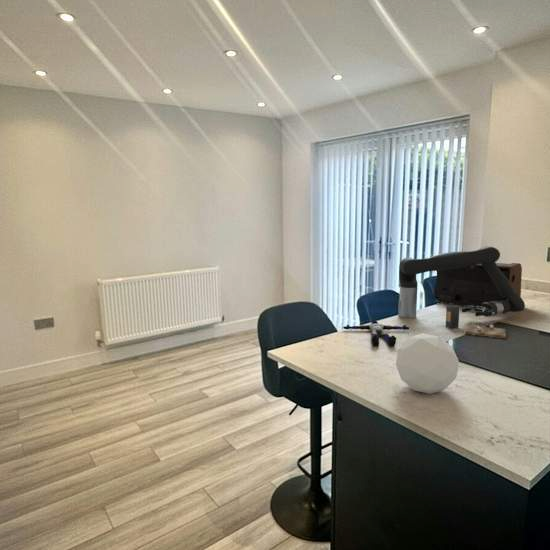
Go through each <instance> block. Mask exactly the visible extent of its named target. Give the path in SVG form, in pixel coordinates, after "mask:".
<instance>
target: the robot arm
mask: <svg viewBox="0 0 550 550" xmlns="http://www.w3.org/2000/svg"><path fill="white" fill-rule="evenodd" d="M500 257H501V252H500V250H499V249H497V248H496V247H493V246H482V247H480V248H479V249H476V250H469V251H466V250H465V251H464V250H462V251H461V250H460V251H450V252H444V253H439V254H436V255H433V256H431V257H427V258H412V257H404V258H403V259H401V261H400V262H399V269H398V270H399V271H398V272H399V273H398V278H399V280H398V281H399V299H398V313H397V314H398V315H397V317H399V318H404V319H414V318H415V319H416V318H417V304H418V303H417V301H418V280H417V275H419V274H423V273H427V272H437V271H439V270H448V269H455V268H460V267H465V266H469V265H474V264H482V266H483V267H484V268H485V270H486V271H487V273H488V274H489V276H490V277H491V279H492V280H493V282H494V284H495V286H496V288H497V290H498V292H499V294H500V295H501V297H503V298H508V299H509V300H503V301H493V302H486V303H482V304H481V306H475V305H470V306H464V307H462V308H461V313H468V312H469V313H472V314H475V315H474V316H475V317H480V316H482V317H494V316H498V315H503V314H508V313H514V312H515V313H516V312H523V311H524V310H525V307H526V304H525V300H524V299H523V298H522V296H521V297H520V296H519V295H518V294H517V293H516V292H515V291H514V290H513V288H512V286H511V284H510V282H509V280H508V279H507V278H506V276H505V275H504V274H503V273H502V272H501V271H500V269H499V268H498V266H497V265H496V263H497V262H498V260H499V259H500Z"/></svg>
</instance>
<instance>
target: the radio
mask: <svg viewBox="0 0 550 550" xmlns="http://www.w3.org/2000/svg"><path fill="white" fill-rule="evenodd" d="M495 263H496V265H497V266H498V268H499V269H500V271H501V272H502V273H503V274H504V275H505V276H506V278H507V279H508V280H509V282H510V284H511V286H512V288H513V290H514V291H515V292H516V293H517V294H518V295H519V296H520V297H521V298H522V296H521V295H522V275H523V274H522V272H523V267H522V264H521V263H518V262H511V263H502V262H495ZM433 298H434V300H435V301H437V302H438V303H443V304H450V305H456V306H460V307H461V306H462V307H465V306H470V305H475V306H481V304H482V303H486V302H493V301H503V300H509V299H508V298H503V297H501V295H500V294H499V292H498V290H497V288H496V286H495V284H494V282H493V280H492V279H491V277H490V276H489V274H488V273H487V271H486V270H485V268H484V267H483V266H482V264H474V265H469V266H465V267H460V268H455V269H448V270H439V271H436V279H435V284H434V292H433Z"/></svg>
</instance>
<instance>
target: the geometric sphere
mask: <svg viewBox="0 0 550 550" xmlns="http://www.w3.org/2000/svg"><path fill="white" fill-rule="evenodd" d="M459 364H460V361H459V358H458V357H457V354H456V352H455V349H454V348H453V346H452V345H451V344H450V343H447V341H445V340H443V338H440V336H436V335H432V334H428V333H424V332H422V333H419V334H416V335H413V336H411V337H408V338H407V339H406V340H405V341H404V342H403V343H402V344H401V345H400V346H399V347H398V348H397V352H396V362H395V366H396V369H397V371H398V374H399V378H400V380H401V381H403V383H405V384H406V385H407V386H408V387H409V388H411V389H412V390H413V391H416V392H419V393H423V394H428V395H432V394H434V393H438V392H441V391H444V390H446V389H448V388H449V386H451V384H452V383H453V382H454V381H455V380H456V379H457V377H458V370H459V366H460V365H459Z"/></svg>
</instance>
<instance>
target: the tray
mask: <svg viewBox="0 0 550 550" xmlns="http://www.w3.org/2000/svg"><path fill="white" fill-rule="evenodd" d="M467 334H472V335H471V336H475V335H483V336H482V337H484V336H490V337H489V338H493V337H497V338H496V339H501V338H505V339H504V340H506V339H507V335H506V328H501V327H494V324H489V326H483V325H473V324H472V325H471V324H466V325H465V329H464V335H467Z"/></svg>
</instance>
